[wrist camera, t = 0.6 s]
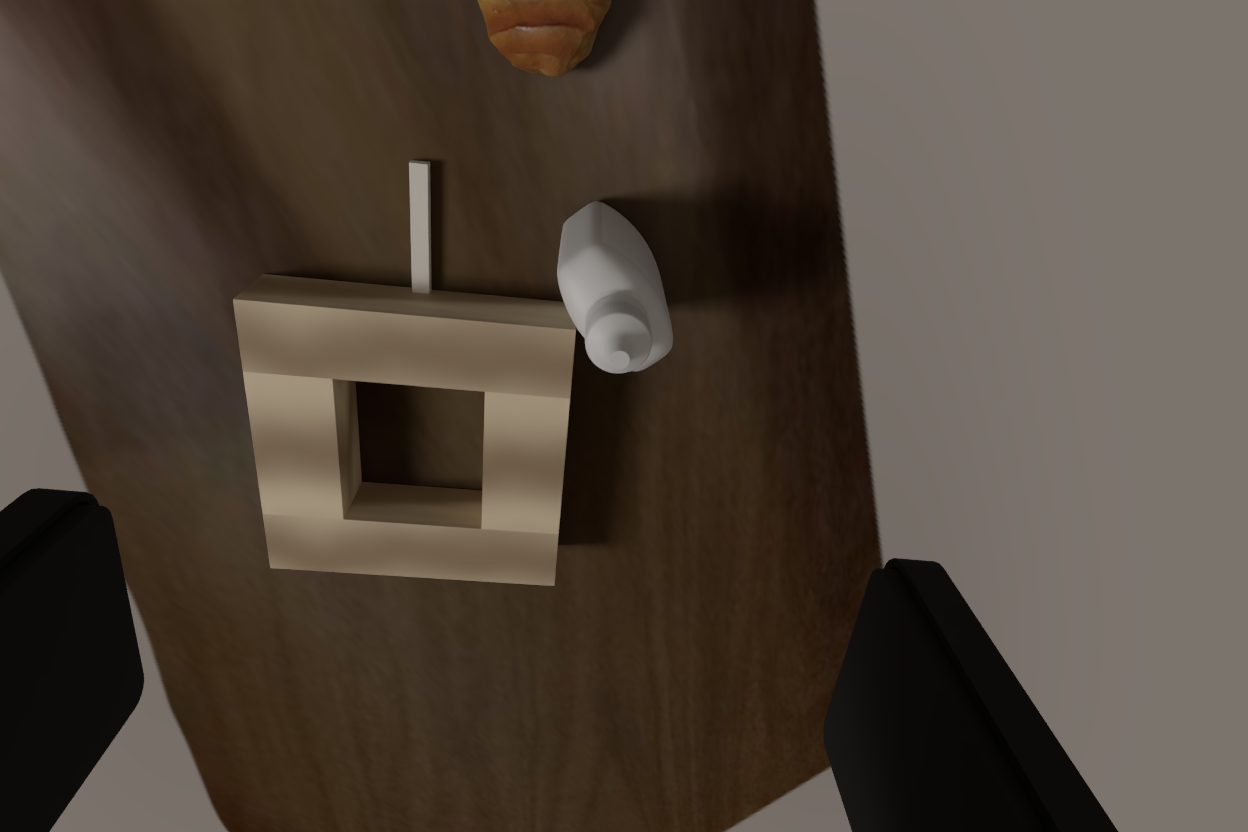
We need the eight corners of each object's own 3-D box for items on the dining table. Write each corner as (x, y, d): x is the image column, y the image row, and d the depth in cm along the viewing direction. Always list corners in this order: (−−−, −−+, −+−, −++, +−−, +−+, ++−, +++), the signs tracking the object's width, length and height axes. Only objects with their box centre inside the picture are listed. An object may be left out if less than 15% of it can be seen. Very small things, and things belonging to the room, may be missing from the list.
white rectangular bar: (411, 160, 34) (409, 162, 34) (430, 161, 34) (427, 164, 34) (414, 288, 37) (412, 292, 37) (431, 289, 37) (429, 293, 37)
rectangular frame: (263, 274, 37) (233, 299, 33) (577, 303, 38) (575, 330, 35) (293, 527, 44) (270, 567, 41) (557, 545, 45) (554, 586, 42)
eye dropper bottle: (653, 192, 35) (677, 273, 25) (663, 306, 38) (689, 424, 27) (559, 202, 35) (543, 288, 25) (575, 316, 38) (567, 437, 28)
